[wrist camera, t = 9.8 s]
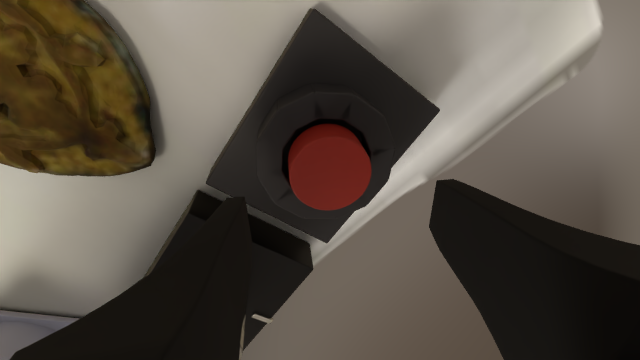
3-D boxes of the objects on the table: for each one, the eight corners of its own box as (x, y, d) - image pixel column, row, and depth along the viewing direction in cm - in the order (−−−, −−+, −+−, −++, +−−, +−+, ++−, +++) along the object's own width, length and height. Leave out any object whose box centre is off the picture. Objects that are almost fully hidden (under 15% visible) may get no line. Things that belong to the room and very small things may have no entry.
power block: (323, 227, 21) (331, 264, 18) (210, 169, 18) (197, 202, 15) (427, 101, 18) (458, 121, 15) (310, 7, 15) (319, 8, 12)
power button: (333, 203, 17) (339, 223, 15) (273, 169, 15) (273, 187, 14) (377, 148, 16) (388, 164, 14) (316, 107, 14) (321, 120, 13)
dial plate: (238, 332, 25) (234, 365, 23) (130, 296, 22) (113, 330, 20) (311, 243, 22) (315, 271, 20) (196, 188, 19) (185, 213, 17)
